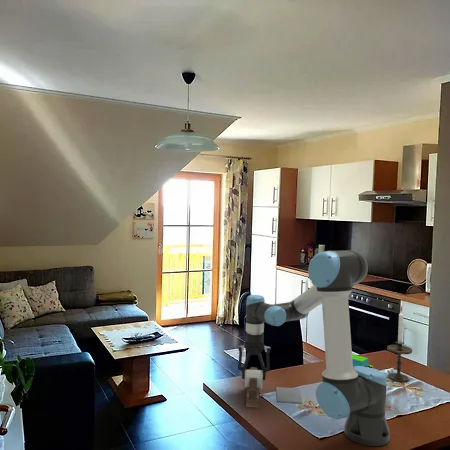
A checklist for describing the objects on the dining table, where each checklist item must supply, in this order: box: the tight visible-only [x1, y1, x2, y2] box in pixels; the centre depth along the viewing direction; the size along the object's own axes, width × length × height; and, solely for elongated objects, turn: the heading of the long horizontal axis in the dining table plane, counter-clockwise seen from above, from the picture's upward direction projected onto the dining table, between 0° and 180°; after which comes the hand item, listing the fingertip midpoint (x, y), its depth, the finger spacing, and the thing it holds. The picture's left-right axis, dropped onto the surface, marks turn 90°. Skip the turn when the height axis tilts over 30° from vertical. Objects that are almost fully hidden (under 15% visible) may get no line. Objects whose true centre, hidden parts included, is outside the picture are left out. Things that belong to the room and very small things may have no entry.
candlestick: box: [386, 305, 413, 383], centre depth 204 cm, size 11×11×35 cm
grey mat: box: [275, 386, 303, 404], centre depth 183 cm, size 14×10×1 cm
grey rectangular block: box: [246, 369, 262, 389], centre depth 184 cm, size 9×6×4 cm, turn 176°
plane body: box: [245, 366, 260, 408], centre depth 184 cm, size 26×5×10 cm, turn 176°
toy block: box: [352, 353, 374, 369], centre depth 206 cm, size 10×13×10 cm
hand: (253, 386), depth 184 cm, fingers closed on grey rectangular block, 6 cm apart
